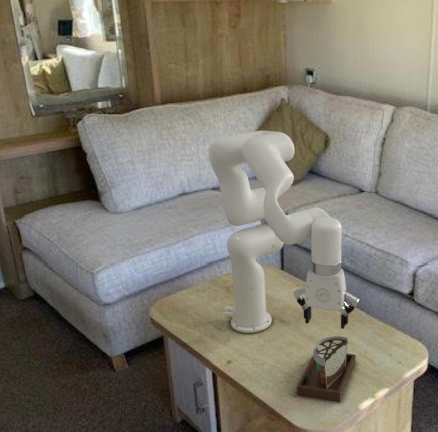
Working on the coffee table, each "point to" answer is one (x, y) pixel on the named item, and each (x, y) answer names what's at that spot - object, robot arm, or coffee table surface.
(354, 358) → the tray
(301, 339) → the coffee table surface
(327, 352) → the lattice half-cylinder
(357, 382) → the coffee table surface
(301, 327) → the coffee table surface
